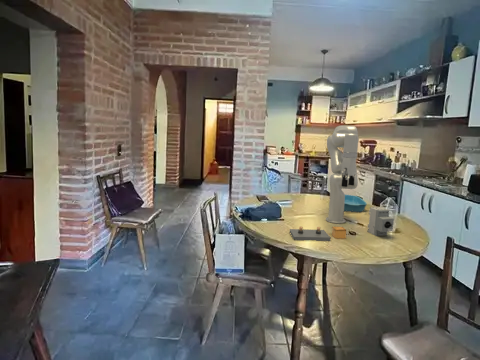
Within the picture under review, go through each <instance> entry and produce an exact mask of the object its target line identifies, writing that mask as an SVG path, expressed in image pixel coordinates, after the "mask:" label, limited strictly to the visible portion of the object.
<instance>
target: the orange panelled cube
mask: <svg viewBox="0 0 480 360" xmlns="http://www.w3.org/2000/svg"><path fill="white" fill-rule="evenodd" d="M331 228H332V229H331V235H332V236H333V238H334V239H344V240H345V239H346V237H347V229H346V228H345V227H344V226H332V227H331Z"/></svg>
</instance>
